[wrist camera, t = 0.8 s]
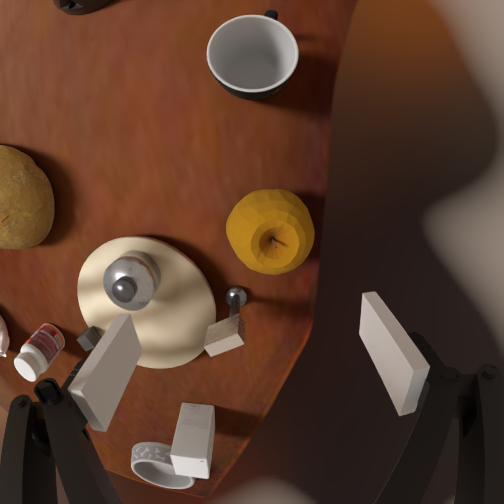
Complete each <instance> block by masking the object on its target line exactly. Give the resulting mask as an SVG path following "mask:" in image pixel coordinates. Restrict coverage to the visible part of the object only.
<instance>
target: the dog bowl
mask: <svg viewBox="0 0 504 504" xmlns="http://www.w3.org/2000/svg"><path fill="white" fill-rule="evenodd" d="M171 448H172V446H170V445H166V444H162V443H156V442H142V443H138V444H136V445H135V446H134V447H133V448H132V459H131V468H132V470H133V471H134V472H135V473H136V474H137V475H138V476H139V477H141V478H142V479H144V480H146V481H148V482H150V483H152V484H155V485H158V486H161V487H165V488H171V489H184V488H188V487H191V486H192V485H193V484H194V482H195V480H196V478H197V477H190V476H183V475H177V474H175V471H174V467H173V464H172V460H171V457H170V452H171Z"/></svg>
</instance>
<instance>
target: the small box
mask: <svg viewBox="0 0 504 504" xmlns="http://www.w3.org/2000/svg"><path fill="white" fill-rule="evenodd" d="M214 433H215V410H214V406H213V405H204V404H194V403H184V402H183V403H182V406H181V410H180V414H179V418H178V422H177V427H176V431H175V435H174V439H173V444H172V448H171V452H170V457H171V460H172V464H173V467H174V471H175V474H177V475H183V476H190V477H197V478H205V479H209V474H210V465H211V457H212V449H213V441H214Z"/></svg>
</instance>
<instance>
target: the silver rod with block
mask: <svg viewBox="0 0 504 504" xmlns="http://www.w3.org/2000/svg"><path fill="white" fill-rule="evenodd" d="M246 300H247V293H246V290H245V289H244V288H243V287H241V286H232V287H230V288H229V289H228V290H227V292H226V301H227V303H228V304H229V305H230V306H231V308H230V316H229V318H227V319H224V320H222V321H219V322H217V323H215V324H212V325H210V326H208V329H207V334H206V338H205V342H204V348H205V350H206V351H207V352H208V354H209V355H210V356H211V357H212V356H214V355H217V354H220V353H222V352H225V351H227V350H230V349H233V348H235V347H238V346H240V345H243V344H244V343H245V322H244V320H243V318H242V317H241V315H240V314H239V309H240V306H243V305H244V304H245V302H246Z"/></svg>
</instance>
